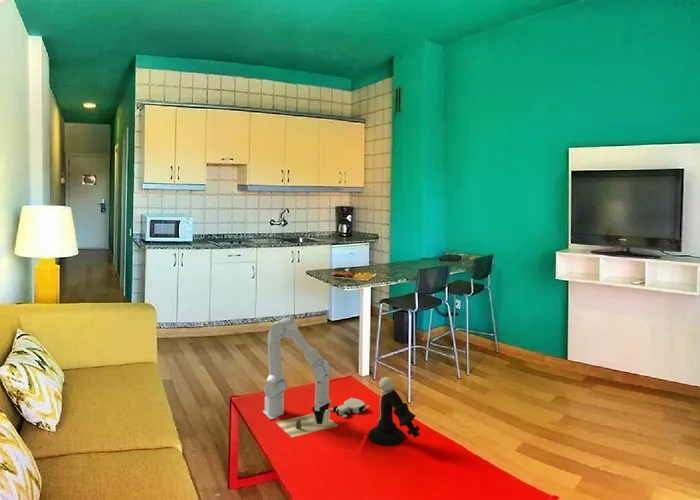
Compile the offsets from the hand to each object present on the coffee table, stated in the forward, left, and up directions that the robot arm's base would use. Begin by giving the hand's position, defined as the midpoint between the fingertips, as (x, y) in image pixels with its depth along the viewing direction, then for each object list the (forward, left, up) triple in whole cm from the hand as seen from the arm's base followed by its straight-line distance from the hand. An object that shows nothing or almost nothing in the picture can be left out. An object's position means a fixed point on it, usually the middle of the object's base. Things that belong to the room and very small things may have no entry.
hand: (321, 420), depth 224 cm
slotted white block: (0, 0, -1) cm, 1 cm away
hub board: (-2, -6, -2) cm, 7 cm away
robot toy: (-5, +17, -2) cm, 18 cm away
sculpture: (+27, +19, -2) cm, 33 cm away
